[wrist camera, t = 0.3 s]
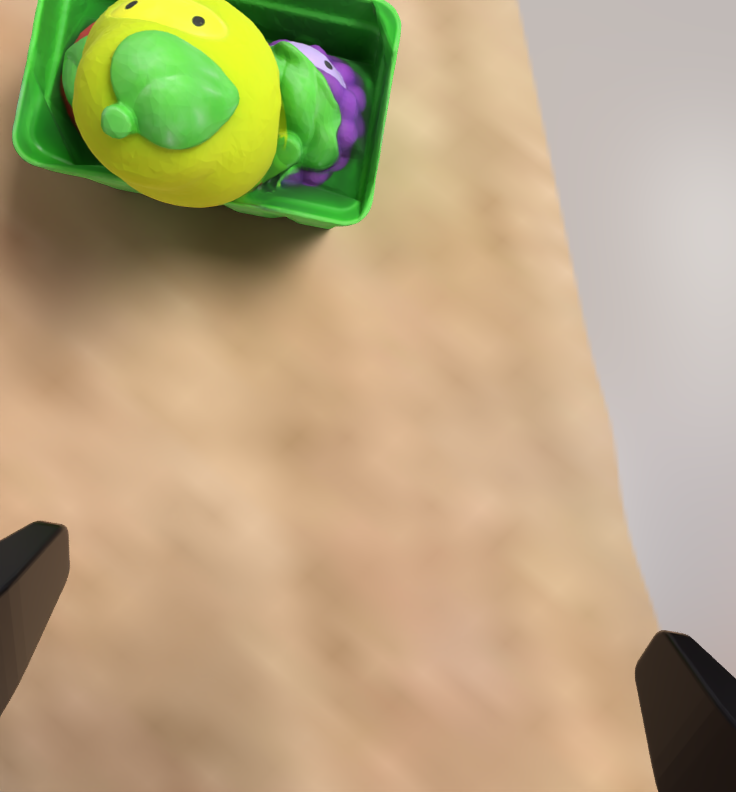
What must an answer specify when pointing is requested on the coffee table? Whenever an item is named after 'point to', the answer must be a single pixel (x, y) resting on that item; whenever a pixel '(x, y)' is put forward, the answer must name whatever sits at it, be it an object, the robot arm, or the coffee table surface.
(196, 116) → the fruit basket
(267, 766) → the coffee table surface
